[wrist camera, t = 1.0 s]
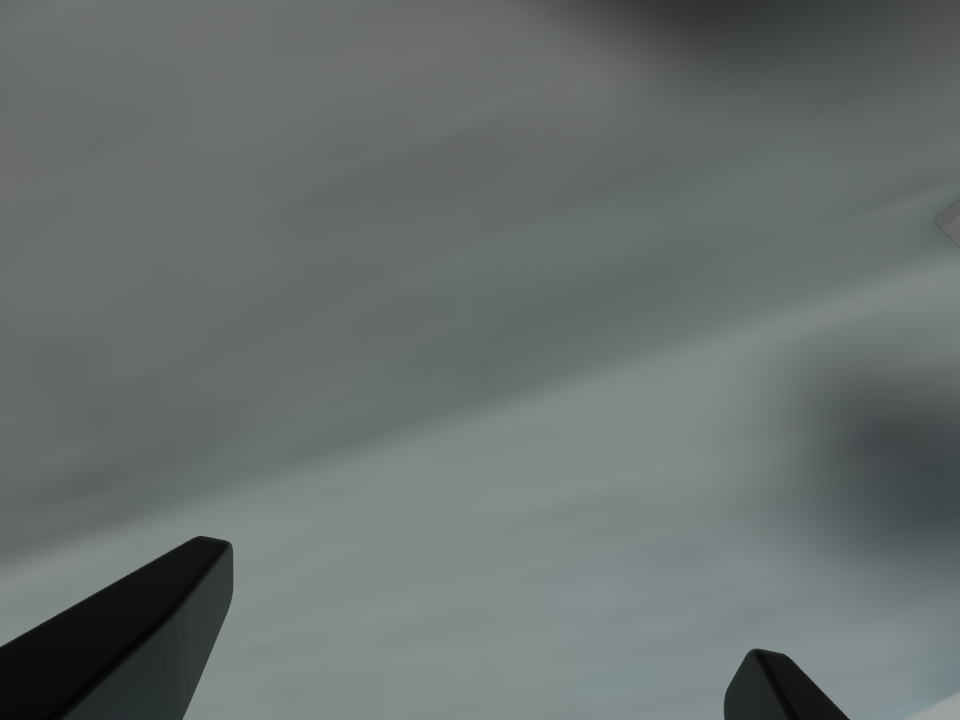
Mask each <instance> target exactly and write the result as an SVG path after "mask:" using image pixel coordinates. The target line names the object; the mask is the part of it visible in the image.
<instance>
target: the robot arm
mask: <svg viewBox="0 0 960 720" xmlns="http://www.w3.org/2000/svg"><path fill="white" fill-rule="evenodd" d="M232 594H233V548H232V544H231V543H230V542H228V541H226V540H221V539H215V538H210V537H205V536H198V537H195V538H193V539H191V540H189V541H187V542H185V543H184V544H182V545H180V546H178V547H177V548H175V549H173V550H171V551H170V552H168V553H166V554H164V555H162V556H161V557H159V558H157V559H155V560H154V561H152V562H150V563H148V564H146V565H145V566H143V567H141V568H139V569H138V570H136V571H134V572H132V573H131V574H129V575H127V576H125V577H123V578H122V579H120V580H118V581H116V582H115V583H113V584H111V585H109V586H108V587H106V588H104V589H102V590H100V591H99V592H97V593H95V594H93V595H92V596H90V597H88V598H86V599H84V600H83V601H81V602H79V603H77V604H76V605H74V606H72V607H70V608H69V609H67V610H65V611H63V612H61V613H60V614H58V615H56V616H54V617H53V618H51V619H49V620H47V621H46V622H44V623H42V624H40V625H38V626H37V627H35V628H33V629H31V630H30V631H28V632H26V633H24V634H22V635H21V636H19V637H17V638H15V639H14V640H12V641H10V642H8V643H7V644H5V645H3V646H1V647H0V720H183V717H184V715H185V713H186V710H187V708H188V706H189V704H190V701H191V699H192V696H193V694H194V692H195V689H196V687H197V684H198V682H199V680H200V677H201V675H202V672H203V670H204V668H205V665H206V663H207V660H208V658H209V656H210V653H211V651H212V648H213V646H214V643H215V641H216V639H217V636H218V634H219V631H220V629H221V627H222V624H223V622H224V619H225V617H226V615H227V612H228V609H229V606H230V603H231V599H232ZM724 718H725V720H850V719H849V718H848V717H847V716H846V715H845V714H844V713H843V712H842V711H841V710H840V709H839V708H838V707H837V706H836V705H835V704H834V703H833V702H832V701H831V700H830V699H829V698H828V697H827V696H826V695H825V694H824V692H823V691H822V690H821V689H820V688H819V687H818V686H817V685H816V684H815V683H814V682H813V681H812V680H811V679H810V678H809V677H808V676H807V675H806V674H805V673H804V672H803V671H802V670H801V669H800V668H799V667H798V666H797V665H796V664H795V663H794V662H793V661H792V660H791V659H790V658H789V657H788V656H786V655H785V654H782V653H777V652H772V651H768V650H763V649H752V650H751V651H749V652H748V654H747V655H746V656H745V658H744V660H743V662H742V663H741V665H740V667H739V669H738V670H737V672H736V674H735V676H734V677H733V679H732V681H731V683H730V684H729V686H728V688H727V691H726V695H725V700H724Z"/></svg>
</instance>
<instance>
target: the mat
mask: <svg viewBox="0 0 960 720" xmlns="http://www.w3.org/2000/svg"><path fill="white" fill-rule="evenodd" d="M934 222H935V223H936V224H937V225H938V226H939V227H940V228H941V229H942V230H943V231H944V232H945V233H946V234H947V235H948V236H949V237H950V238H951V239H952V240H953V241H954V242H955V243H956V244H957V245H958V246H959V247H960V200H959V201H958V202H957V203H956V204H954V205H953V206H952V207H951V208H949V209H948V210H947V211H946V212H944V213H943V214H942V215H941V216H939V217H938V218H937V219H936V220H934Z"/></svg>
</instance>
